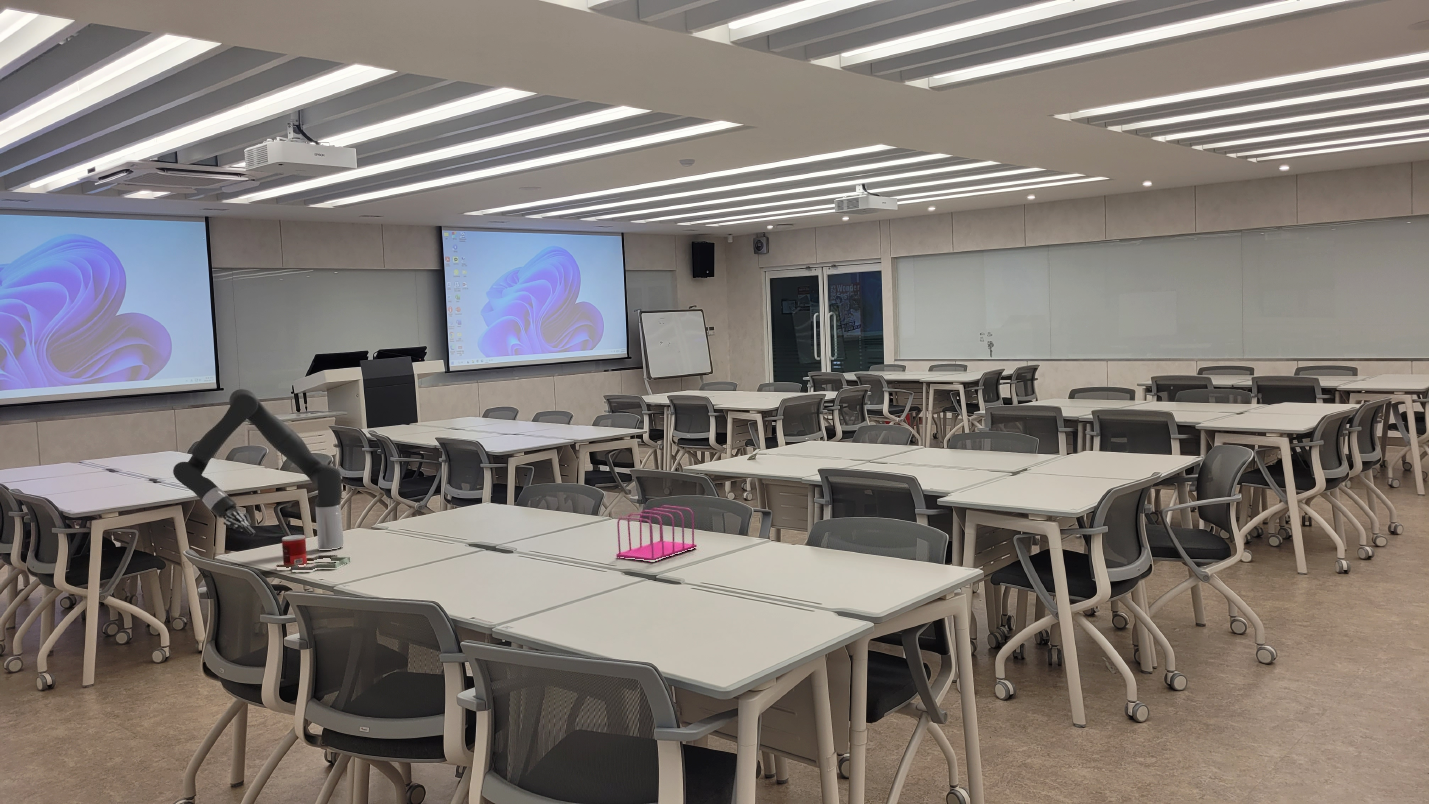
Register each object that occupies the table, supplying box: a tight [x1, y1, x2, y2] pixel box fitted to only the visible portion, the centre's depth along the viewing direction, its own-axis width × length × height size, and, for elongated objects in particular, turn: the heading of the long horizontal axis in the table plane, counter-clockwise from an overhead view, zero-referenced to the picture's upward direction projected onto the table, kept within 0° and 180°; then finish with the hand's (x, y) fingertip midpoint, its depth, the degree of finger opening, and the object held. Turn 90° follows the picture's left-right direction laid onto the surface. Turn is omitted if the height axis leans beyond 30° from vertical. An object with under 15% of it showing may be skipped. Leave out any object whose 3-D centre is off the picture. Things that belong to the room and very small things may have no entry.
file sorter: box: [615, 505, 698, 560], centre depth 351 cm, size 17×25×16 cm
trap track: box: [276, 554, 351, 571], centre depth 352 cm, size 19×22×2 cm
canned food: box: [281, 534, 308, 565], centre depth 353 cm, size 8×8×11 cm
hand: (253, 535), depth 354 cm, fingers closed
